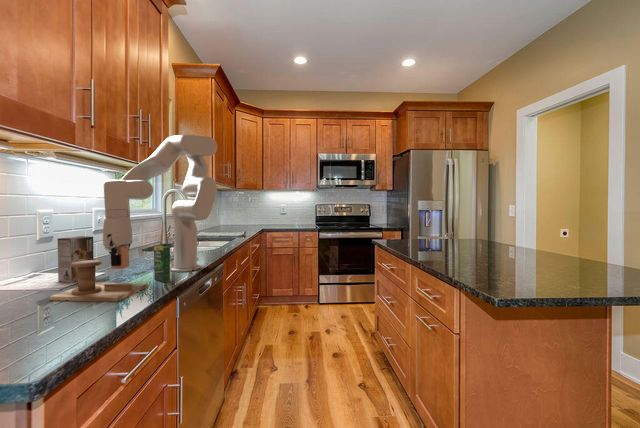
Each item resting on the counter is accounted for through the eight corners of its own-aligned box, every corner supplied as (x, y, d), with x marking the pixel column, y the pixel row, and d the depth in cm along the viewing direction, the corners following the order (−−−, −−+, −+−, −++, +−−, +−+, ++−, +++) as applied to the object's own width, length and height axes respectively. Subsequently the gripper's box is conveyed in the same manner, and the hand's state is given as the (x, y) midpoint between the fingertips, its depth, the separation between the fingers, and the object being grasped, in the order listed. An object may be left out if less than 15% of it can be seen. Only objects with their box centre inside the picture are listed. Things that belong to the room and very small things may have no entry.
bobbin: (83, 288, 103) (83, 260, 102) (107, 288, 103) (107, 260, 102) (65, 294, 95) (64, 264, 95) (90, 295, 95) (89, 264, 95)
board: (91, 285, 110) (91, 276, 110) (148, 286, 110) (148, 277, 110) (49, 300, 93) (49, 289, 93) (116, 301, 93) (116, 291, 93)
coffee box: (80, 276, 124) (80, 235, 124) (94, 277, 123) (94, 236, 122) (57, 281, 115) (57, 238, 115) (71, 282, 114) (71, 238, 113)
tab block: (118, 266, 117) (117, 244, 116) (129, 266, 116) (128, 244, 116) (111, 268, 113) (110, 246, 112) (122, 268, 113) (121, 246, 112)
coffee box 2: (153, 279, 121) (153, 245, 121) (160, 278, 124) (160, 245, 123) (162, 282, 116) (162, 247, 116) (170, 281, 118) (170, 247, 118)
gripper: (122, 212, 121) (124, 259, 123) (90, 216, 105) (93, 270, 106) (141, 212, 121) (143, 259, 123) (112, 216, 105) (115, 270, 106)
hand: (120, 263), depth 114 cm, fingers closed on tab block, 4 cm apart
